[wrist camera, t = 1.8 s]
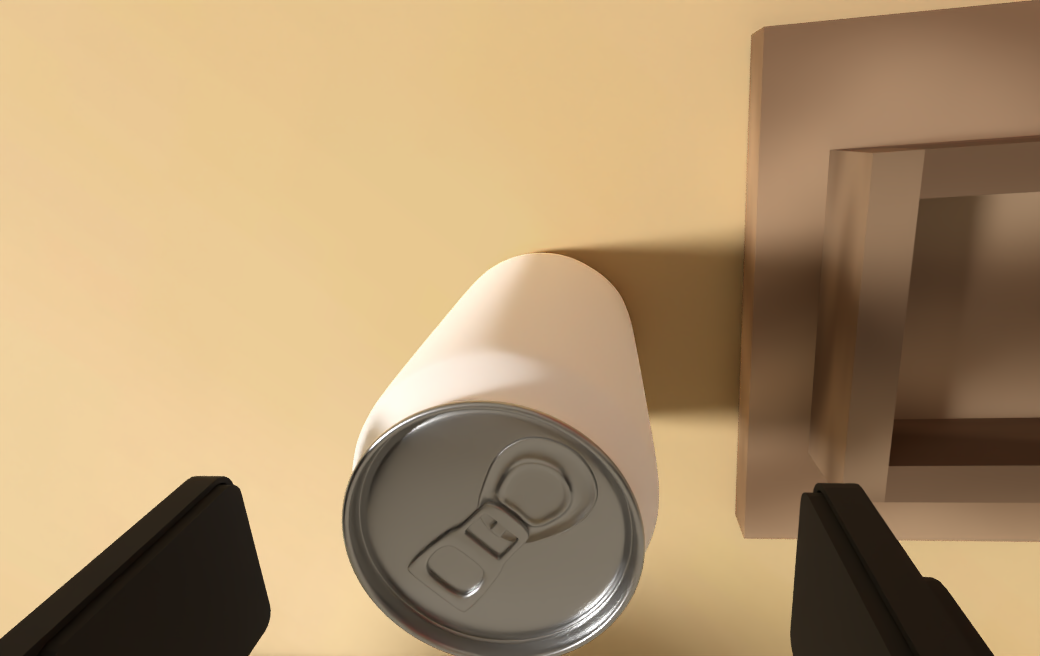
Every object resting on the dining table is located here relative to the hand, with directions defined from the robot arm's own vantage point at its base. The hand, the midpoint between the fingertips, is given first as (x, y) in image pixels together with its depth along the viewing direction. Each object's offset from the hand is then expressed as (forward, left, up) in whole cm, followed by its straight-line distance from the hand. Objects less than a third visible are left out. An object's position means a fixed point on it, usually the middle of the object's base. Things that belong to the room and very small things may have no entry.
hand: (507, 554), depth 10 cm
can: (0, +1, -13) cm, 13 cm away
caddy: (+1, -13, -13) cm, 19 cm away
